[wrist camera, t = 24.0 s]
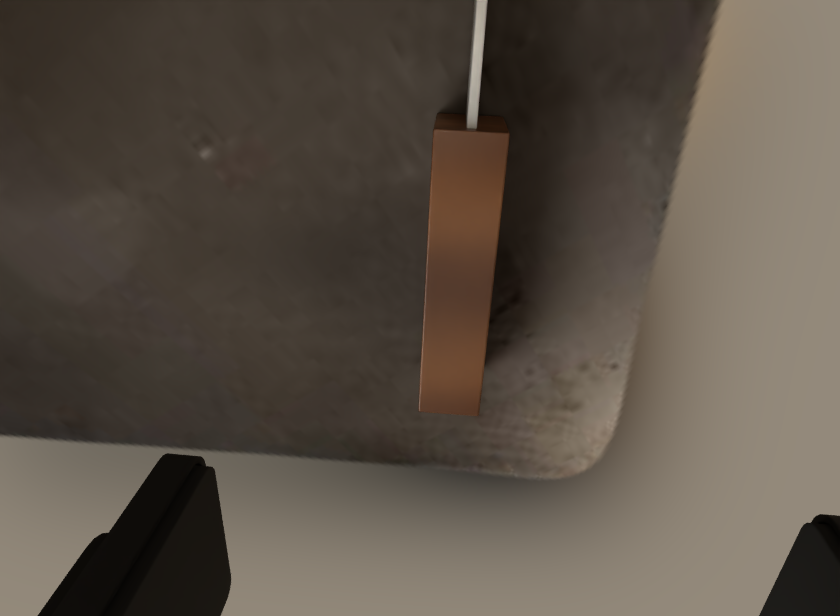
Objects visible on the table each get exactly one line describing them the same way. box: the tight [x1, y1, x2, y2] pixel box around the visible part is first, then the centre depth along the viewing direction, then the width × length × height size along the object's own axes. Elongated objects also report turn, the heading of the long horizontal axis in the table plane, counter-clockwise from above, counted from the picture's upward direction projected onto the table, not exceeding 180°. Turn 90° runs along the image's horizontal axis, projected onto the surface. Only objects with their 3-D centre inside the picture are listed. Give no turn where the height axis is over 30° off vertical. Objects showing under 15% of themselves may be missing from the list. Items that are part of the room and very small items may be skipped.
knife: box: [418, 0, 510, 416], centre depth 18 cm, size 21×2×3 cm, turn 177°
